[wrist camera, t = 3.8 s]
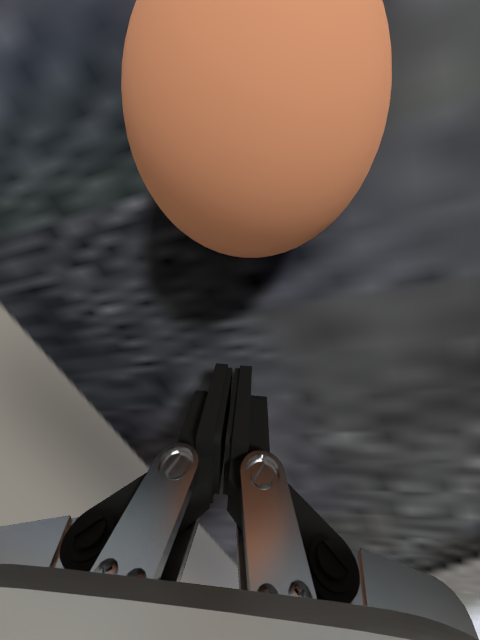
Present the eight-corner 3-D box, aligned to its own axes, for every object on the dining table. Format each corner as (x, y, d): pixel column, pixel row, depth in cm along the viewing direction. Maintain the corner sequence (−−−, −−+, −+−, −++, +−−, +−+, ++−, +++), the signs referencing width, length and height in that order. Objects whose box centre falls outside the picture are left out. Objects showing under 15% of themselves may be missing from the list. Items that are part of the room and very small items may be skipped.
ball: (319, 249, 10) (395, 293, 4) (179, 240, 10) (86, 270, 5) (358, 51, 7) (645, -420, 2) (169, 46, 8) (-58, -381, 2)
